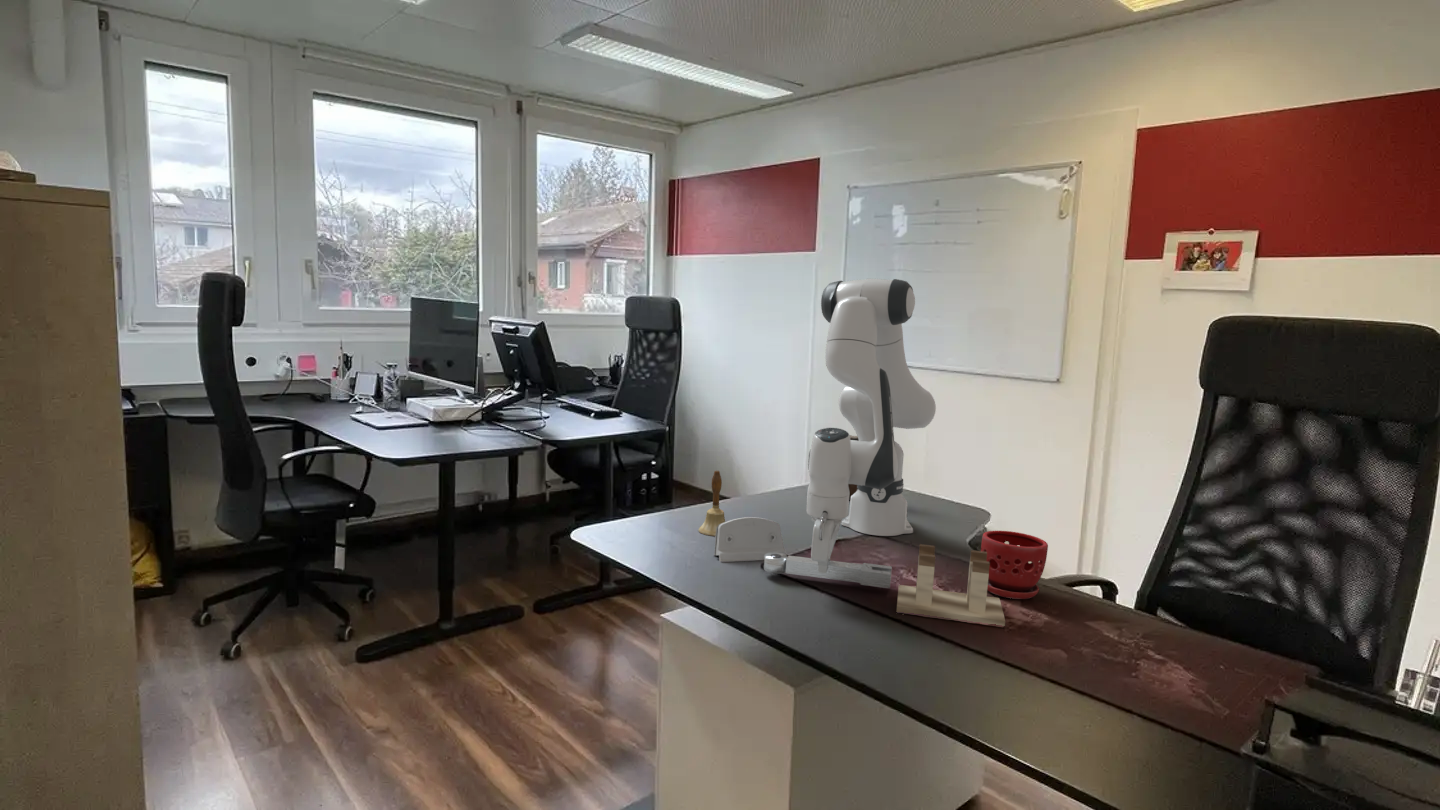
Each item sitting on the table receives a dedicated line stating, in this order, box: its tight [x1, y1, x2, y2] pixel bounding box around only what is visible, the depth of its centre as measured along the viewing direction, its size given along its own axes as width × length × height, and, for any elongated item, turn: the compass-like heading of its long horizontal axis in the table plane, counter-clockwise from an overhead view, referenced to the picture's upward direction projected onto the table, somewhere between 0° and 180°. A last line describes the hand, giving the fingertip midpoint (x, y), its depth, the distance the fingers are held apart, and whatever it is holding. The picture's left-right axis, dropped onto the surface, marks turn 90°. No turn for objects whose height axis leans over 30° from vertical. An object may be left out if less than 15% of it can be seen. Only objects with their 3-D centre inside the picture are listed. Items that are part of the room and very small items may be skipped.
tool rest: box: [896, 543, 1006, 626], centre depth 153 cm, size 12×20×12 cm, turn 75°
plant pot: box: [980, 530, 1049, 600], centre depth 165 cm, size 13×13×12 cm
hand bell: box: [697, 470, 726, 537], centre depth 198 cm, size 8×8×16 cm
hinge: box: [713, 516, 787, 563], centre depth 181 cm, size 17×5×10 cm, turn 105°
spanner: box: [763, 552, 892, 589], centre depth 165 cm, size 27×5×3 cm, turn 76°
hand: (824, 568), depth 165 cm, fingers closed on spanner, 3 cm apart
